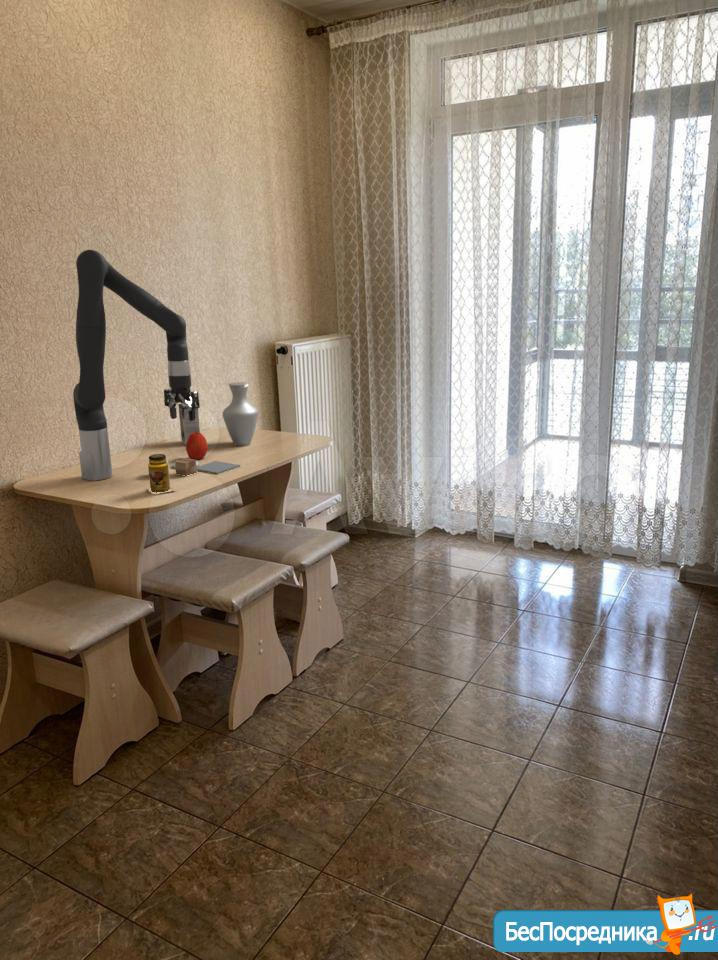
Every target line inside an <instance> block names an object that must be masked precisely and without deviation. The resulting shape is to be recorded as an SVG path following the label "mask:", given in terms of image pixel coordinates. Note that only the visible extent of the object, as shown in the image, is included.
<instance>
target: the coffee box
mask: <svg viewBox="0 0 718 960" xmlns="http://www.w3.org/2000/svg"><path fill="white" fill-rule="evenodd" d="M177 406H178V414H179V425H180V438H181V443H182V444H183V445H185V446H186V443H187V440H188V438H189V436H190V434H191V433H195V432H200V433H201V431H200V416H199V414H200V413H199V408H197V409H196V410H195V416H196V418H195V420H194V421H189V411H190V410H189V409H188V407H187V406H186V405H185V404H184V403H177ZM190 406H191V405H190Z"/></svg>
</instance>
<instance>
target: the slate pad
mask: <svg viewBox="0 0 718 960" xmlns="http://www.w3.org/2000/svg"><path fill="white" fill-rule="evenodd" d="M237 467H238V468H241V465H240V464H237V463H230V462H225V461H224V462H223V461H218V460H214V461H212V462H208V463H205V464H201V465H199V466H198V467H196V469H197V470H198V471H197V472H201V471H204V472H203V473H207V472H210V473H209V474H213V473H216V474H215V475H220V474H223V473H225V471H226V472H229V471H231V469H232V470H235V469H237ZM234 468H235V469H234ZM228 470H229V471H228ZM222 472H223V473H222ZM219 473H220V474H219Z"/></svg>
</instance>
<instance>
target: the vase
mask: <svg viewBox="0 0 718 960" xmlns="http://www.w3.org/2000/svg"><path fill="white" fill-rule="evenodd" d="M249 386H250V382H242V381H241V382H240V381H239V382H237V381H236V382H231V383H230V382H229V383H228V387H229V389H230V391H231V395H232V398H231V399H232V400H231V402H230V404H229V405H228V406H227V407H225V408H223V411H222V418H223V420H224V421H223V422H224V423H225V427H226V429H227V432H228V434H229V437H230V439H231V441H232V443H233V445H234V446H238V447H244V446H249V445H251V443H252V440H253V437H254V434H255V430H256V426H257V423H258V420H259V410H258V409H257V407H255V406H254V405H252V404H251V403H250V402H249V400H248V397H247V393H248V388H249Z"/></svg>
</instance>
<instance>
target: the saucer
mask: <svg viewBox="0 0 718 960" xmlns="http://www.w3.org/2000/svg"><path fill="white" fill-rule="evenodd" d="M199 463H200V462H199V460H198V459H196V467H198V466H200V464H199ZM173 468H174V469H176V467H175V461H174V462H173Z"/></svg>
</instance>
